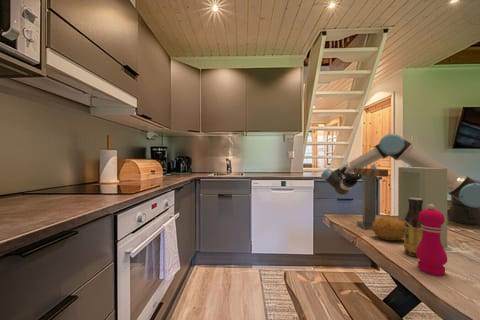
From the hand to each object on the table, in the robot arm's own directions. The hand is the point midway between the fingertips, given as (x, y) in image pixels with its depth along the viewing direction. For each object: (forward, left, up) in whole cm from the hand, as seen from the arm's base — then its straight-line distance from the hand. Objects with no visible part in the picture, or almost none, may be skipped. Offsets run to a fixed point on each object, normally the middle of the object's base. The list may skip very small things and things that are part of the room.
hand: (362, 165), depth 120 cm
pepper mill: (+20, +48, -31) cm, 60 cm away
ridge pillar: (+2, +7, -31) cm, 31 cm away
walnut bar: (+3, +7, -5) cm, 8 cm away
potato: (+8, +24, -31) cm, 40 cm away
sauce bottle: (+13, +38, -31) cm, 50 cm away
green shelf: (-6, +26, -31) cm, 40 cm away
